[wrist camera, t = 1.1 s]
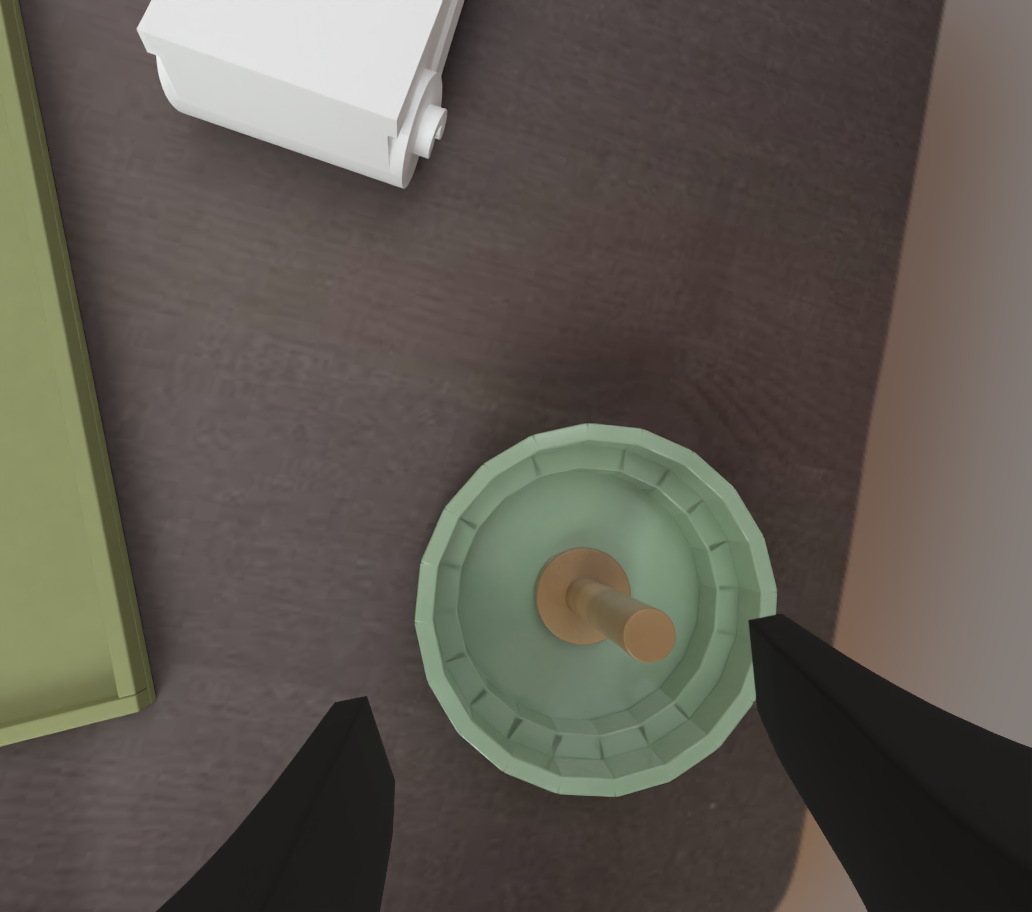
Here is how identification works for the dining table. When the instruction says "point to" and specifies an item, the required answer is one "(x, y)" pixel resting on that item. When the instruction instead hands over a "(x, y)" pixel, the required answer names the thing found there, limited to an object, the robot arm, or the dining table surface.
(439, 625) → the shallow round dish
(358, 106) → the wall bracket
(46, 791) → the dining table surface
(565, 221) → the dining table surface
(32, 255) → the serving tray
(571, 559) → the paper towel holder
